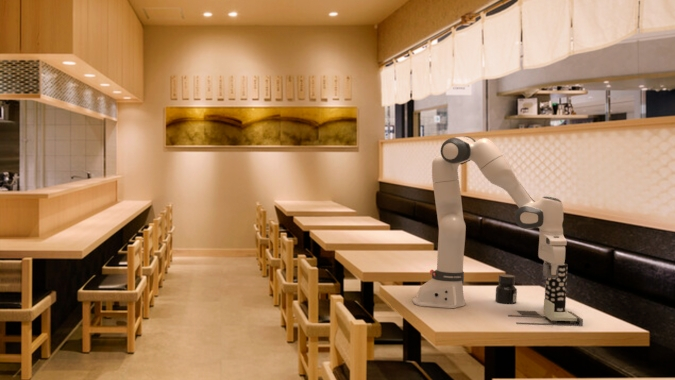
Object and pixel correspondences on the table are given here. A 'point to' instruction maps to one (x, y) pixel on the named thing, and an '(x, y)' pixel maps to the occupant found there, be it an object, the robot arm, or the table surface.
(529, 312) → the station pad
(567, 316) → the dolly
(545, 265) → the steel block
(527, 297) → the table surface
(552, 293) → the white-spotted black cylinder
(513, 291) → the ink bottle
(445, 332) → the table surface
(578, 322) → the track
